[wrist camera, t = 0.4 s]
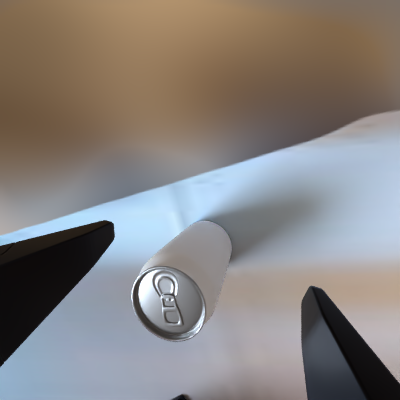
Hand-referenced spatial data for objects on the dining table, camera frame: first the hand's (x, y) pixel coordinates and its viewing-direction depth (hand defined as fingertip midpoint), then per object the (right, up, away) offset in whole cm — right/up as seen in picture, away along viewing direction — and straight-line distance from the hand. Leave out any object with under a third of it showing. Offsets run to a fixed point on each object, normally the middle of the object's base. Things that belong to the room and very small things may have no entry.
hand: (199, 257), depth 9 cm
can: (+1, -3, +17) cm, 17 cm away
